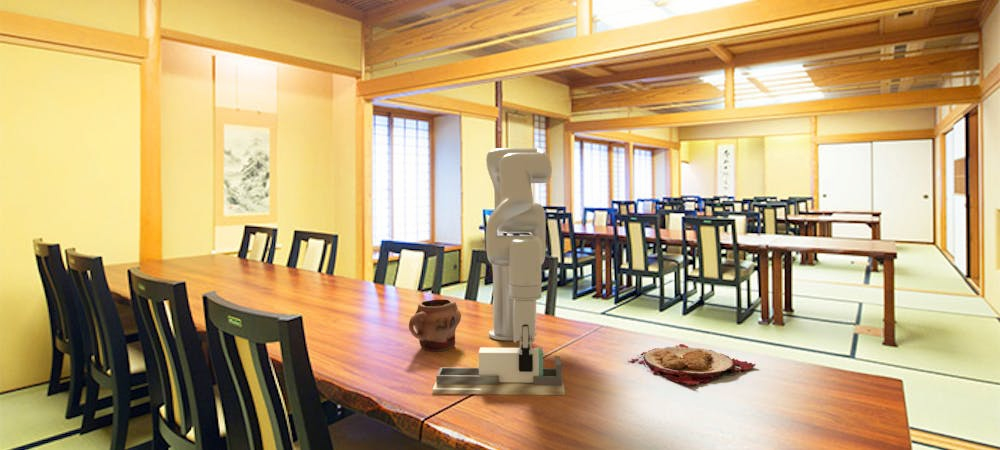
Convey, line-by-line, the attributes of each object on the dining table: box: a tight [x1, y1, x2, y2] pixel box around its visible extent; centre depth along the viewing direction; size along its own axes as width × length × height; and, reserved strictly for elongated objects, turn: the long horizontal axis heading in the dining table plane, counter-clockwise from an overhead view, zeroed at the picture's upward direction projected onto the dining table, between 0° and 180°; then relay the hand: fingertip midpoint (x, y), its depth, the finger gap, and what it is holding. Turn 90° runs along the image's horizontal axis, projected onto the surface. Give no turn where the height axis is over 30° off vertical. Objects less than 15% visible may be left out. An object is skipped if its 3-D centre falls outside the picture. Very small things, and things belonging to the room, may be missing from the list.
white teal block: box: [478, 347, 544, 383], centre depth 120 cm, size 15×4×7 cm, turn 87°
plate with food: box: [627, 343, 757, 386], centre depth 134 cm, size 24×26×4 cm
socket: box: [533, 355, 563, 386], centre depth 120 cm, size 6×6×5 cm
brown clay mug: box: [408, 298, 462, 352], centre depth 149 cm, size 20×12×14 cm, turn 150°
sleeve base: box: [432, 366, 566, 396], centre depth 121 cm, size 30×12×3 cm, turn 87°
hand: (525, 366), depth 120 cm, fingers closed on white teal block, 4 cm apart
